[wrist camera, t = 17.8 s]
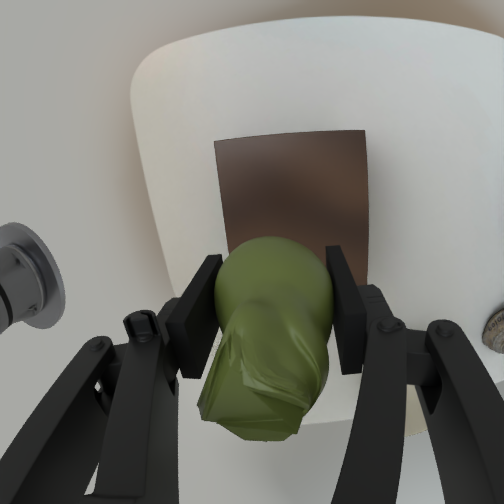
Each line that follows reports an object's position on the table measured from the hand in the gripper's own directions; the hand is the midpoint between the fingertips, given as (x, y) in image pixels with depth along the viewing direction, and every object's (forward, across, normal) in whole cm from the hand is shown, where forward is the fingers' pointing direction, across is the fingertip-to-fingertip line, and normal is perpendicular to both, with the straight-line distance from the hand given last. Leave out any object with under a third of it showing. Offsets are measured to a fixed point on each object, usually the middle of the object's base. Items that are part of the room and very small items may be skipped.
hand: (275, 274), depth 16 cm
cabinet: (+21, +1, 0) cm, 21 cm away
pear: (+1, 0, 0) cm, 1 cm away
